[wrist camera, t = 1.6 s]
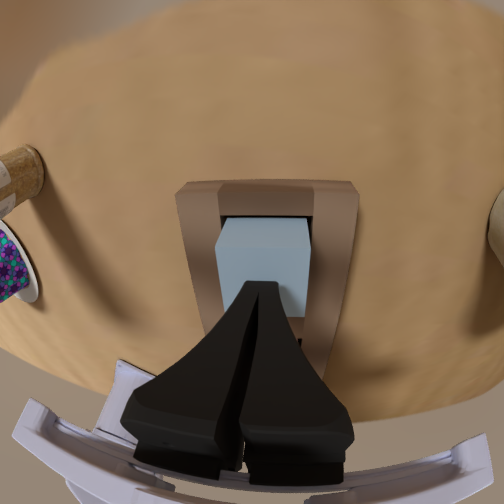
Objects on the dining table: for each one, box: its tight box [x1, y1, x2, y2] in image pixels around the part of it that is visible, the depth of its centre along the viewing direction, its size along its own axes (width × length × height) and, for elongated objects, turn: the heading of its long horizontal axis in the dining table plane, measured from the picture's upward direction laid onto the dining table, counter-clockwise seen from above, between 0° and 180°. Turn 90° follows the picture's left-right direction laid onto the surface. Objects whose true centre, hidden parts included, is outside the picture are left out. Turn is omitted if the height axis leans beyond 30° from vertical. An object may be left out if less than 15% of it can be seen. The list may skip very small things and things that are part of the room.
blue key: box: [215, 217, 311, 317], centre depth 14 cm, size 4×4×3 cm
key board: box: [175, 179, 359, 380], centre depth 20 cm, size 25×9×2 cm, turn 3°
